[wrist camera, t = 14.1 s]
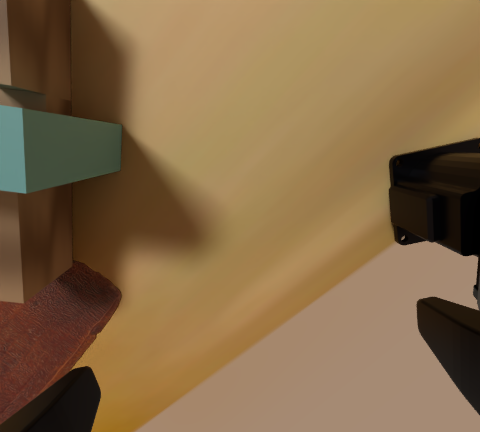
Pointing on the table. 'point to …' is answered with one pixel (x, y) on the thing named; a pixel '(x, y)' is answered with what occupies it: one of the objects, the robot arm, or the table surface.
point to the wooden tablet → (50, 333)
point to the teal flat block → (54, 149)
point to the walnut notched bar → (46, 100)
